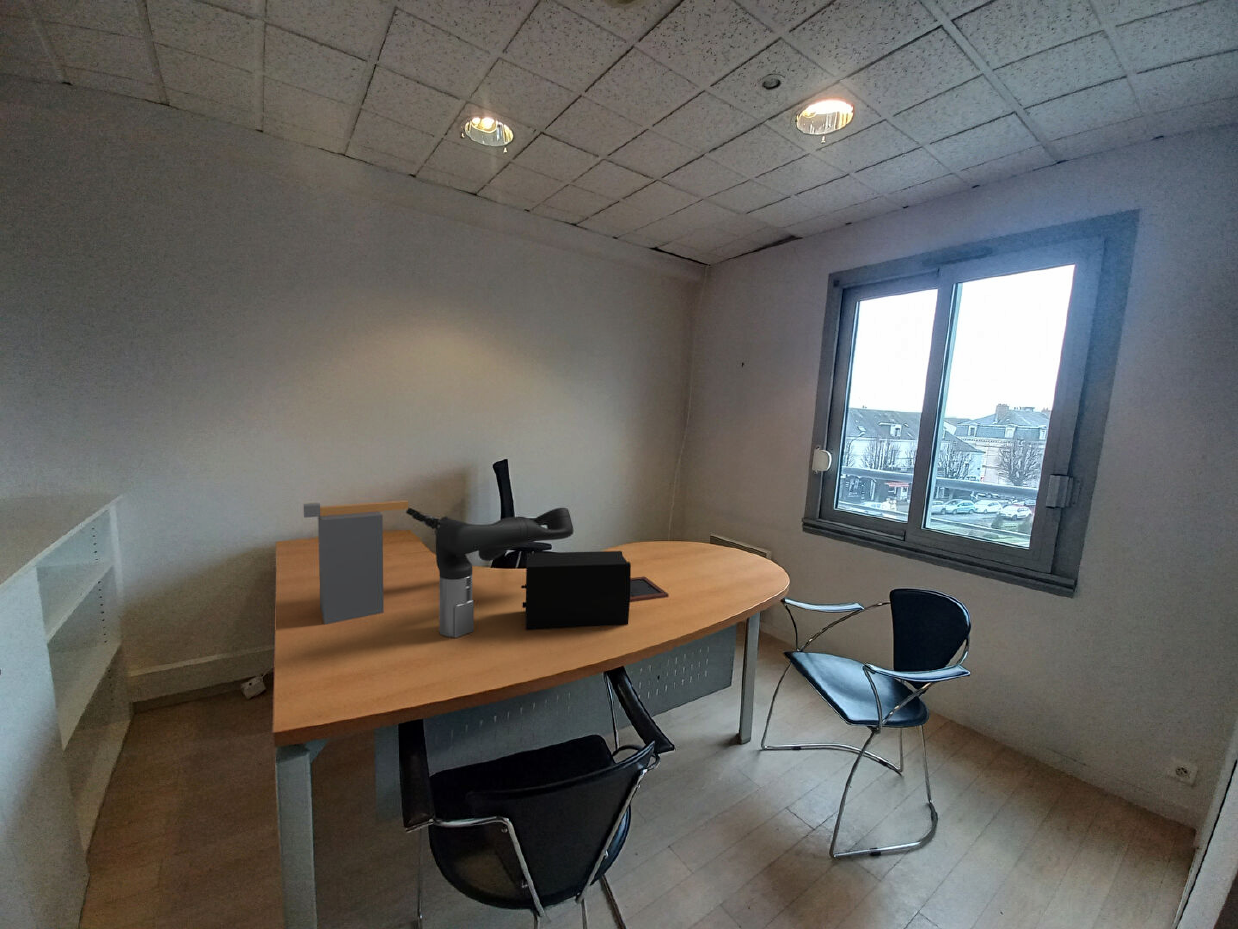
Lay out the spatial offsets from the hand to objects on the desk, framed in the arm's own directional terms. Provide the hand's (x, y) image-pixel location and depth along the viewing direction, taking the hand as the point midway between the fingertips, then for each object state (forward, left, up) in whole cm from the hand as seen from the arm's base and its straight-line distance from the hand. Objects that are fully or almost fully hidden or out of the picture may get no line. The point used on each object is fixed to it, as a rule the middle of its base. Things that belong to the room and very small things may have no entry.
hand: (410, 512), depth 155 cm
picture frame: (-52, -57, -31) cm, 84 cm away
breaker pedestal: (+4, +18, -30) cm, 35 cm away
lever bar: (+3, +15, +2) cm, 16 cm away
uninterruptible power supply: (-53, -26, -31) cm, 67 cm away
